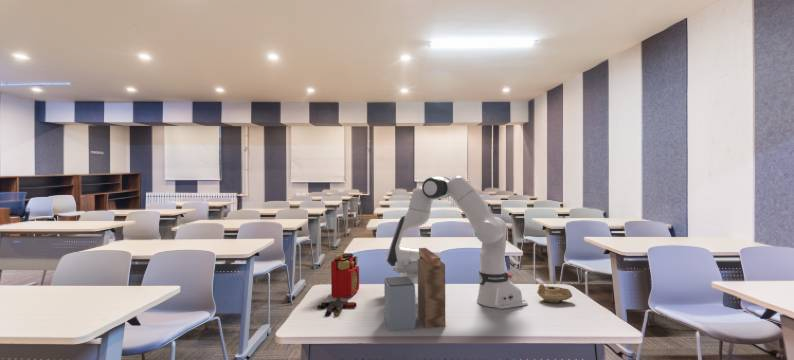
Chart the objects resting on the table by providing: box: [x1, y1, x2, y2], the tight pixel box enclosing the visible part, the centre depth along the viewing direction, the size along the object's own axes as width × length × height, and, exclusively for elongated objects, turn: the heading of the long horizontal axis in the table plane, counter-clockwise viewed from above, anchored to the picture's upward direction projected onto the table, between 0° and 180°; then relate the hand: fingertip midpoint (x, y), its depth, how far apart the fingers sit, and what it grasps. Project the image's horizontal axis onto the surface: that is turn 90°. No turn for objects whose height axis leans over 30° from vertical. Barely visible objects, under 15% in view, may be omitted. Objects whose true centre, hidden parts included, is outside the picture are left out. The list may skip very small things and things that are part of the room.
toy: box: [316, 297, 357, 317], centre depth 164 cm, size 15×16×3 cm
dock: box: [383, 276, 416, 332], centre depth 147 cm, size 10×12×17 cm
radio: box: [330, 253, 360, 299], centre depth 187 cm, size 16×10×20 cm, turn 168°
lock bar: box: [418, 247, 441, 266], centre depth 152 cm, size 3×22×3 cm, turn 10°
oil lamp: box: [536, 283, 573, 304], centre depth 173 cm, size 11×15×8 cm
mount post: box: [417, 259, 447, 329], centre depth 149 cm, size 8×12×24 cm, turn 10°
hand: (419, 260), depth 168 cm, fingers open, 8 cm apart
